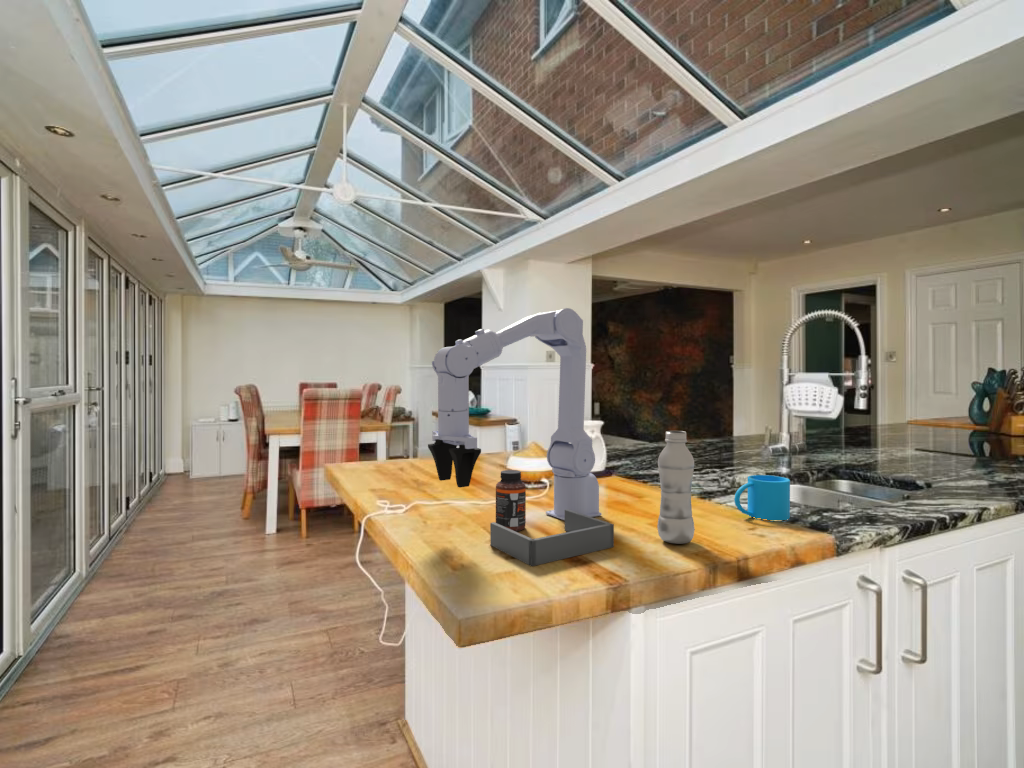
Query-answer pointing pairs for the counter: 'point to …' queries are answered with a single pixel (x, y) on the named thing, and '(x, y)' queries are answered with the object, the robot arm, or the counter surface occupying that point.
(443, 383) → the robot arm
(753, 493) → the mug
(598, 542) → the box
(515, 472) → the supplement bottle
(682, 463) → the plastic bottle
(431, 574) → the counter surface
